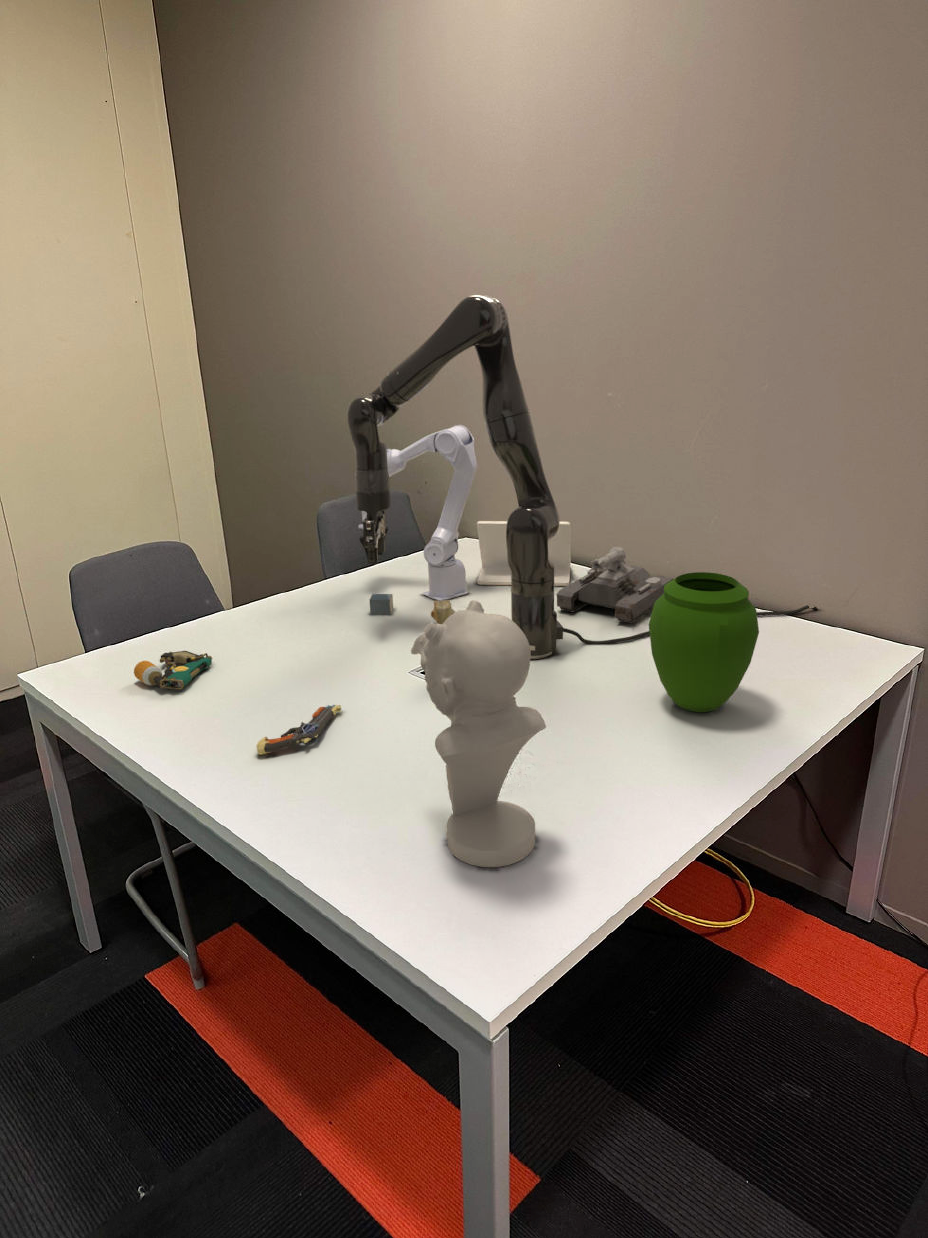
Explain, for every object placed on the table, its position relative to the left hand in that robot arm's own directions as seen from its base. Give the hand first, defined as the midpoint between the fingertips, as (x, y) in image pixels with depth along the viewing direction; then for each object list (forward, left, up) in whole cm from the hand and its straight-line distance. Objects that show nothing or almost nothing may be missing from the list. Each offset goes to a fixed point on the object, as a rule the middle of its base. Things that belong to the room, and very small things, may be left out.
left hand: (375, 558), depth 229 cm
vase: (-8, +100, -9) cm, 101 cm away
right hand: (+17, +28, +10) cm, 34 cm away
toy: (-38, +52, -9) cm, 65 cm away
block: (+9, +16, -9) cm, 20 cm away
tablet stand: (-37, +19, -9) cm, 42 cm away
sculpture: (+19, +56, -9) cm, 59 cm away
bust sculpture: (+51, +105, -9) cm, 117 cm away
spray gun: (+63, +20, -9) cm, 67 cm away
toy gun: (+55, +61, -9) cm, 83 cm away
